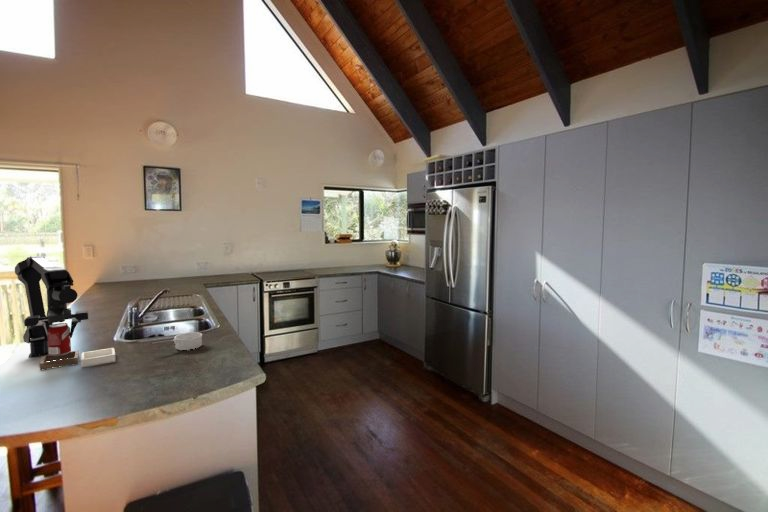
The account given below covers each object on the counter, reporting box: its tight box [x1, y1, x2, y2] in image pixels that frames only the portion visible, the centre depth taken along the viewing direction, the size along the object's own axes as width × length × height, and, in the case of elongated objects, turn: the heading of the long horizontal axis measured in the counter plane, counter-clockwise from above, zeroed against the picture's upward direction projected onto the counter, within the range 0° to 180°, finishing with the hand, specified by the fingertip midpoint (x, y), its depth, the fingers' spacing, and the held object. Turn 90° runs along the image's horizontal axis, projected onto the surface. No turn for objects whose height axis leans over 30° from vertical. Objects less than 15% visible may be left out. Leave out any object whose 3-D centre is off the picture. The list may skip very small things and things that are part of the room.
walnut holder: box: [39, 350, 80, 371], centre depth 146 cm, size 11×11×2 cm
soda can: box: [47, 322, 72, 356], centre depth 146 cm, size 7×7×12 cm
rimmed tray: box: [80, 347, 116, 368], centre depth 149 cm, size 11×11×3 cm
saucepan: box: [152, 331, 203, 351], centre depth 163 cm, size 12×20×6 cm, turn 138°
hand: (59, 339), depth 146 cm, fingers closed on soda can, 7 cm apart
